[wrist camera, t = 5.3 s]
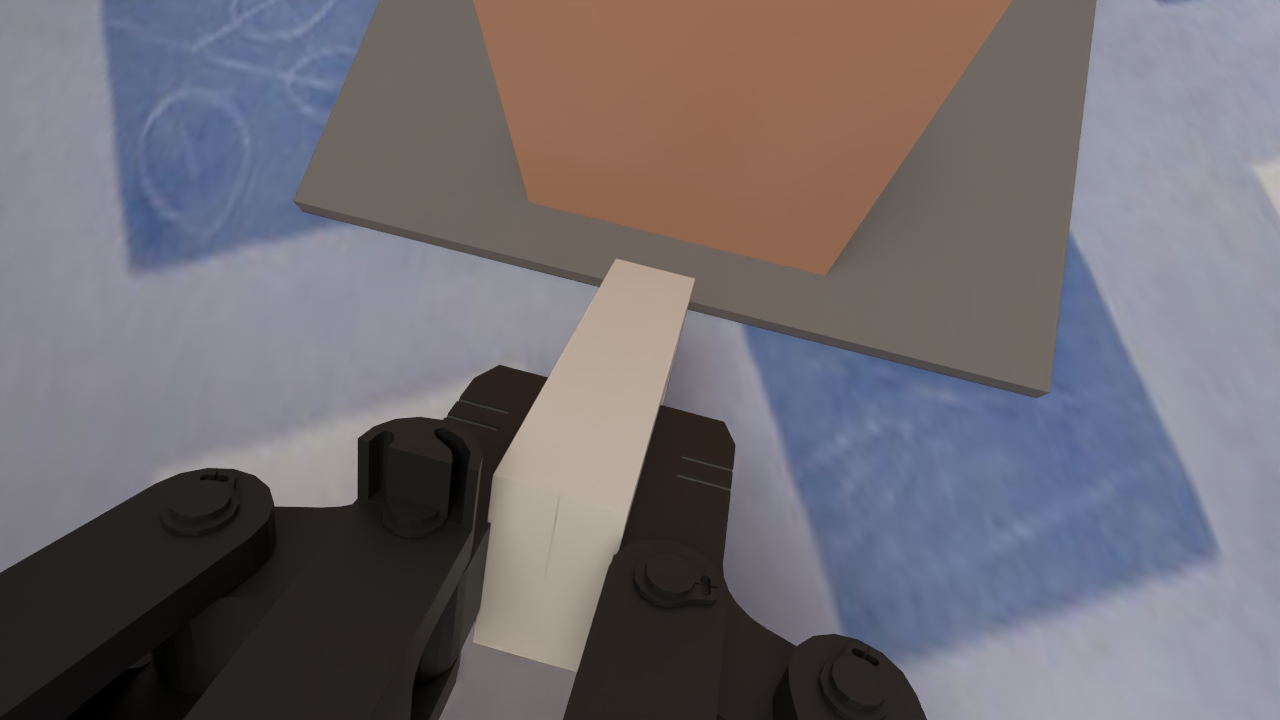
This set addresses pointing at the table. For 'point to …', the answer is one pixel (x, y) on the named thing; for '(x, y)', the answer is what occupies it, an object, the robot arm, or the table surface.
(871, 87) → the tile
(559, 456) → the robot arm
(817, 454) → the table surface
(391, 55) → the mat
